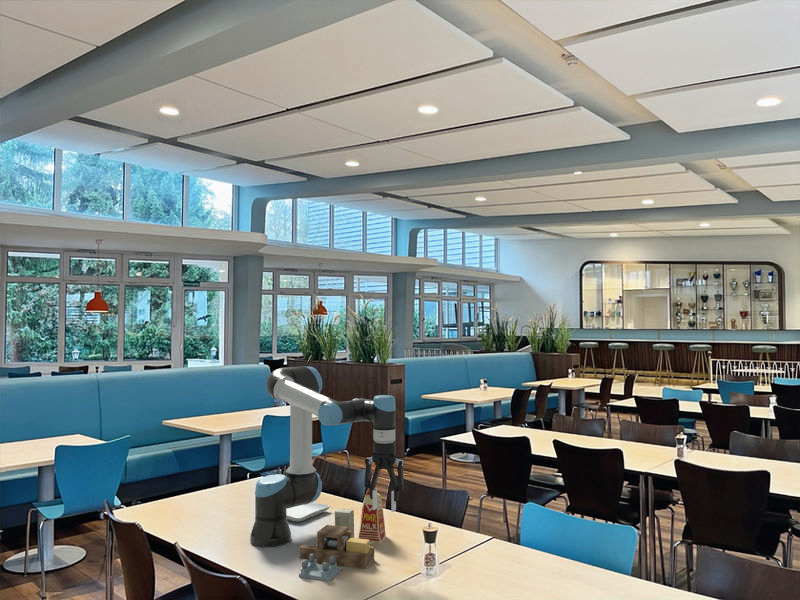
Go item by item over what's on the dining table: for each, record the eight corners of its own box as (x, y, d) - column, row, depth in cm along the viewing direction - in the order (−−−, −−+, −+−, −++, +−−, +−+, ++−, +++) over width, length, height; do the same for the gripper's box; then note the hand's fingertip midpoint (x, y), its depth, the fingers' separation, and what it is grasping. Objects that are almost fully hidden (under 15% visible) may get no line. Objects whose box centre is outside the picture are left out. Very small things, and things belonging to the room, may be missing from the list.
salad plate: (331, 512, 275) (331, 504, 276) (299, 526, 258) (299, 517, 258) (295, 504, 287) (295, 497, 287) (261, 517, 269) (261, 509, 269)
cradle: (298, 576, 206) (298, 561, 206) (310, 566, 214) (310, 551, 215) (330, 580, 203) (330, 565, 203) (340, 570, 211) (340, 555, 211)
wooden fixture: (295, 559, 220) (295, 529, 221) (306, 551, 228) (306, 522, 229) (366, 568, 213) (366, 537, 213) (374, 559, 221) (374, 529, 221)
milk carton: (380, 543, 237) (381, 489, 237) (357, 541, 238) (357, 488, 239) (386, 535, 245) (386, 483, 246) (363, 533, 247) (363, 482, 248)
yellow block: (346, 553, 217) (346, 541, 217) (350, 549, 221) (350, 537, 221) (365, 555, 215) (365, 543, 215) (369, 551, 219) (369, 539, 219)
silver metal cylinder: (317, 550, 220) (317, 535, 220) (323, 545, 225) (323, 531, 225) (344, 553, 217) (344, 538, 217) (349, 548, 222) (349, 534, 222)
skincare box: (354, 542, 238) (354, 509, 238) (350, 546, 234) (350, 512, 234) (339, 540, 240) (339, 507, 240) (334, 544, 236) (334, 511, 236)
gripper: (354, 441, 216) (354, 510, 215) (408, 445, 210) (407, 515, 209) (362, 437, 223) (361, 504, 222) (414, 440, 217) (414, 509, 217)
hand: (384, 509), depth 216 cm, fingers open, 6 cm apart
